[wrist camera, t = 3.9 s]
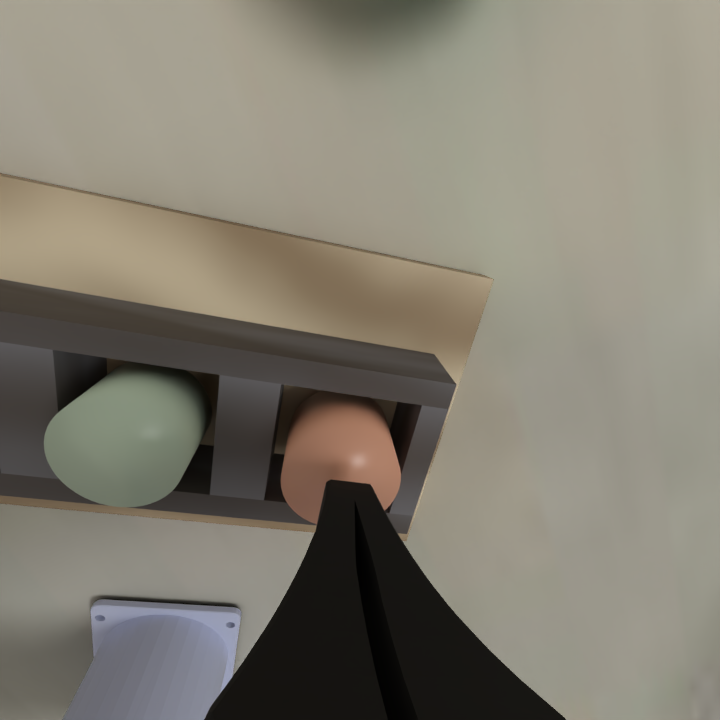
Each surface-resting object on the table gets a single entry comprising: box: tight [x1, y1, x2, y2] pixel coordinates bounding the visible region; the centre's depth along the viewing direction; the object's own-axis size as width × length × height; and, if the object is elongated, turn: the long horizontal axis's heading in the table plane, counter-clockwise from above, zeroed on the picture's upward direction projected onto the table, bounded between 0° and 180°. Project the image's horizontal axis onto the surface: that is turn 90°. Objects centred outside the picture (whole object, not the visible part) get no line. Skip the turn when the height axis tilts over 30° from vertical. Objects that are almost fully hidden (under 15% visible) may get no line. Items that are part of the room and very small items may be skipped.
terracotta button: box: [281, 391, 401, 524], centre depth 14 cm, size 4×4×3 cm
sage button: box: [44, 362, 212, 507], centre depth 13 cm, size 4×4×3 cm
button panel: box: [0, 173, 494, 541], centre depth 15 cm, size 14×24×4 cm, turn 78°
